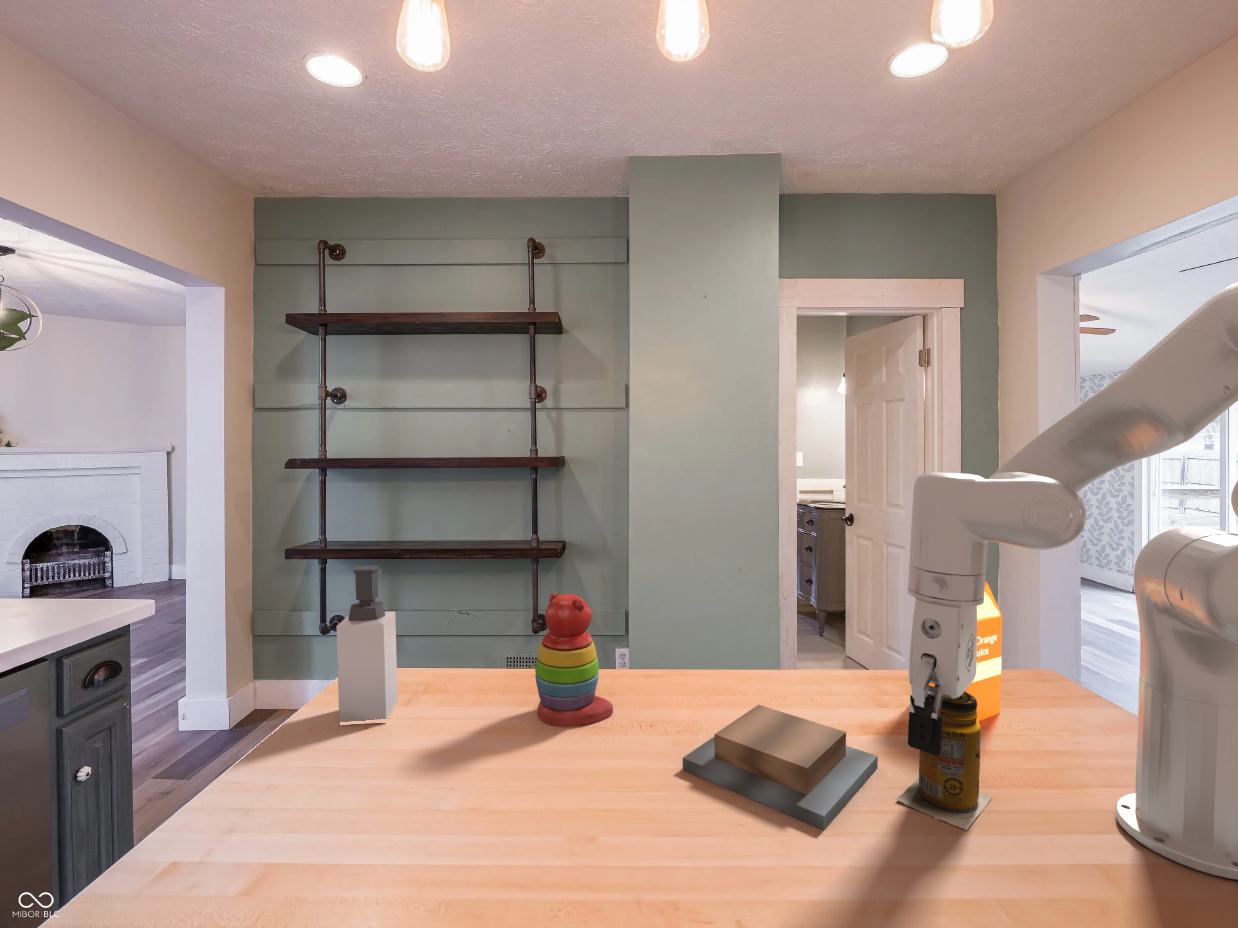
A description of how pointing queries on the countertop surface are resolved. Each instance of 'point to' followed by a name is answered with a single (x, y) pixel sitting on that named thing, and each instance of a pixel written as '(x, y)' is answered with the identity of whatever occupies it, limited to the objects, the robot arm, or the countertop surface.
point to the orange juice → (987, 658)
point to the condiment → (951, 768)
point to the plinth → (785, 796)
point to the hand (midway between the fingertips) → (936, 733)
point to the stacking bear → (568, 666)
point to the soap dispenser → (367, 654)
